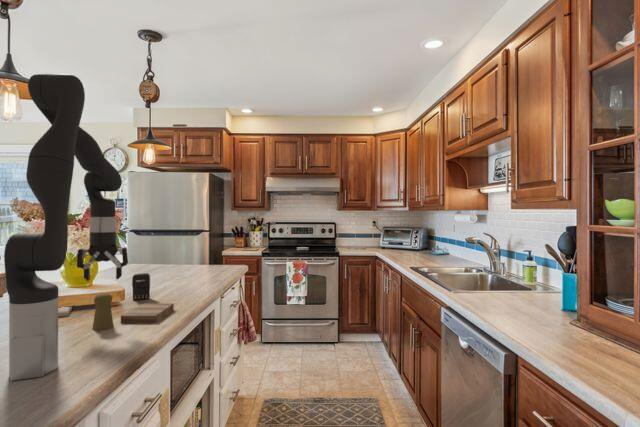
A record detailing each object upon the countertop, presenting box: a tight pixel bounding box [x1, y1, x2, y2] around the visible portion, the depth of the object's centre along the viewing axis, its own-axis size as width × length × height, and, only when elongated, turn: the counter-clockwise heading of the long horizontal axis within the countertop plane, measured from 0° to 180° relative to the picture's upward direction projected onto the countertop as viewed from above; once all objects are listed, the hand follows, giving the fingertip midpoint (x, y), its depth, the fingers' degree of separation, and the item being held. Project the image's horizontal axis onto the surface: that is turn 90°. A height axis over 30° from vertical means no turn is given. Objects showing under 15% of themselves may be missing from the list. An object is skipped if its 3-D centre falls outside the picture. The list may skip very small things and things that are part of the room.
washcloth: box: [58, 306, 74, 318], centre depth 135 cm, size 12×18×3 cm, turn 30°
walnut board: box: [120, 303, 175, 324], centre depth 131 cm, size 16×12×2 cm
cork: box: [91, 293, 114, 332], centre depth 117 cm, size 6×6×11 cm
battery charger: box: [131, 272, 151, 301], centre depth 155 cm, size 7×4×11 cm, turn 111°
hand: (103, 279), depth 118 cm, fingers open, 8 cm apart
